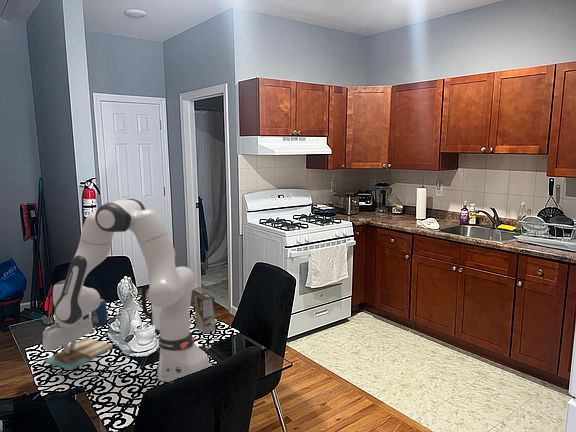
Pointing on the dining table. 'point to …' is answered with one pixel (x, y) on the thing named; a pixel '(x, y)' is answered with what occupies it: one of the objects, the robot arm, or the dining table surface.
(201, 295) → the coffee box
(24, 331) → the dining table surface
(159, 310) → the coffee press
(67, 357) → the tile
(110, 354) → the dining table surface
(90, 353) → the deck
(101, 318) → the soda can
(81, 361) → the mat
